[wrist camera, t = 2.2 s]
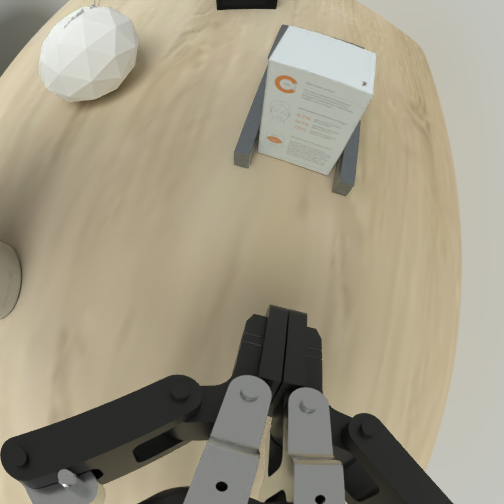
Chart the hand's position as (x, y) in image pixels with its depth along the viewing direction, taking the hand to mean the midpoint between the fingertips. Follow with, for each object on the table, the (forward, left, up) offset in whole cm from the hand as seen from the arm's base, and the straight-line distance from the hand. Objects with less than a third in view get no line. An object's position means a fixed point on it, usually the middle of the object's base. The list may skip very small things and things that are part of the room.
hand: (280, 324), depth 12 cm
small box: (0, +20, -15) cm, 25 cm away
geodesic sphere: (-28, +24, -15) cm, 40 cm away
